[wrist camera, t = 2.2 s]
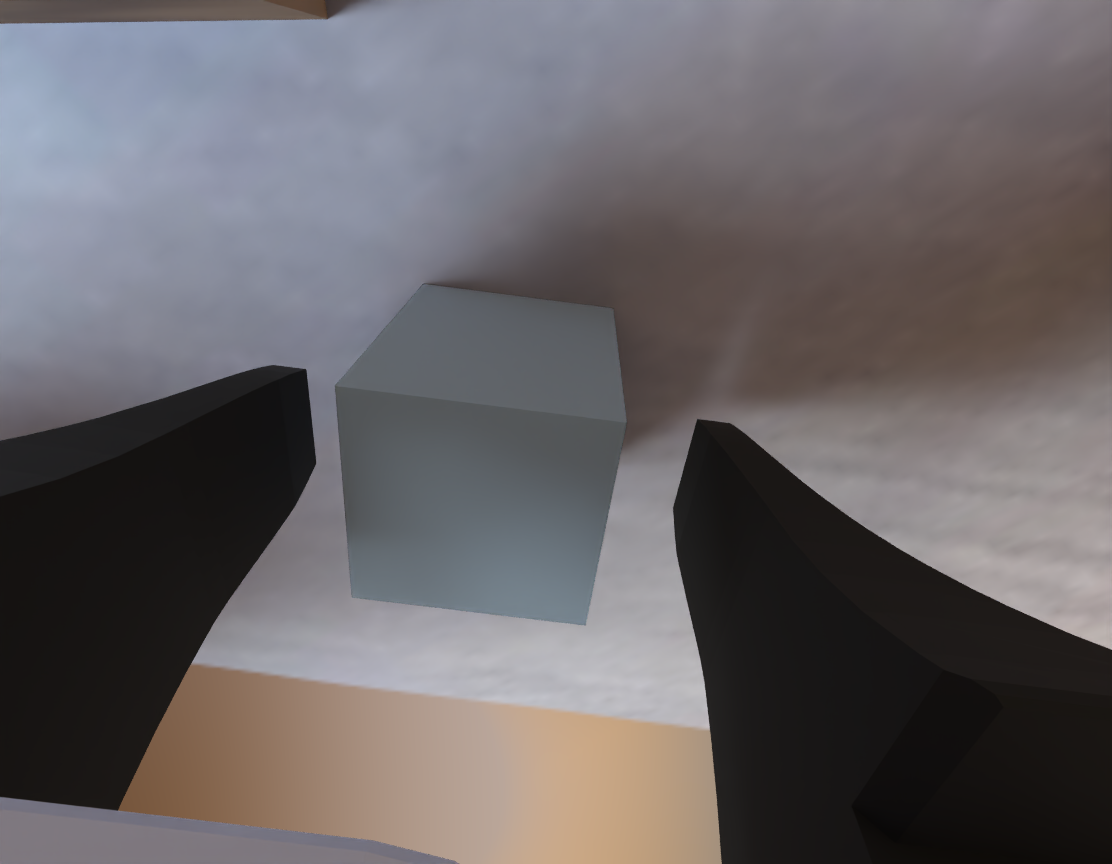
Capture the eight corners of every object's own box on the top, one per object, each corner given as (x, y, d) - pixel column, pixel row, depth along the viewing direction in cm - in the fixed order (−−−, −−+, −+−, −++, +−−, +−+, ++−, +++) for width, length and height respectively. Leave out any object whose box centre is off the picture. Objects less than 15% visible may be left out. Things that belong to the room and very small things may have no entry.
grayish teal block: (423, 445, 14) (352, 597, 10) (424, 282, 12) (334, 385, 8) (586, 465, 14) (585, 625, 10) (612, 308, 12) (626, 422, 8)
